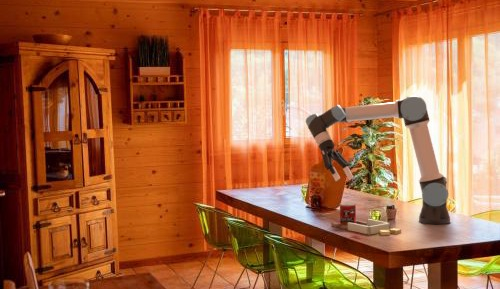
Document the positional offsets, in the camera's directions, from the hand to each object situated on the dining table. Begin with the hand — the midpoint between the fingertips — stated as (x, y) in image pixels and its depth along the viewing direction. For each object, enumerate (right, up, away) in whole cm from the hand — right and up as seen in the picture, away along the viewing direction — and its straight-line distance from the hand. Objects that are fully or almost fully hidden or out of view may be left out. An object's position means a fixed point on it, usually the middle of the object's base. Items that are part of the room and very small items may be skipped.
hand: (344, 179), depth 295 cm
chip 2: (+21, -25, -14) cm, 35 cm away
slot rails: (+3, -23, +4) cm, 24 cm away
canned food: (+2, -24, +5) cm, 24 cm away
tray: (+10, -24, -6) cm, 27 cm away
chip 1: (+16, -25, -17) cm, 34 cm away
